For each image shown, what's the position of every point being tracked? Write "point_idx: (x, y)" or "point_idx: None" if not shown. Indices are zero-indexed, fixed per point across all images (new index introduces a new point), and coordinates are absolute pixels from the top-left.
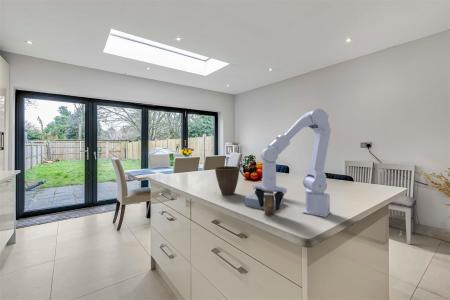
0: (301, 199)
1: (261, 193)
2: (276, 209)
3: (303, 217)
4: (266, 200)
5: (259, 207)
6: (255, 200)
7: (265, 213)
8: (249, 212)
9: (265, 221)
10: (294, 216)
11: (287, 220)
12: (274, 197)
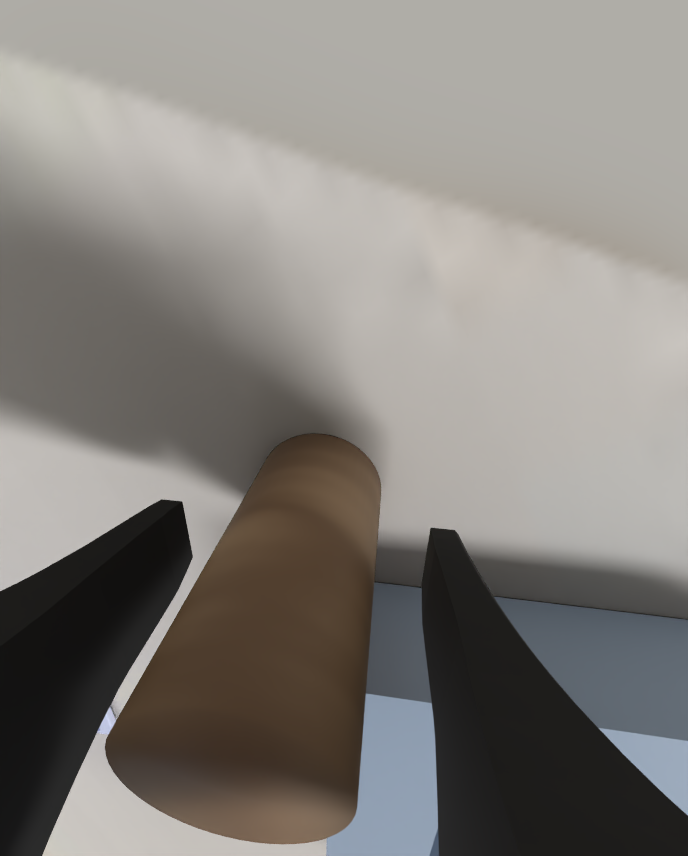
0: (261, 850)
1: (468, 853)
2: (164, 503)
3: (6, 538)
4: (279, 603)
5: (514, 610)
6: (618, 709)
7: (351, 451)
8: (606, 414)
9: (219, 175)
10: (75, 528)
11: (46, 387)
12: (382, 826)
